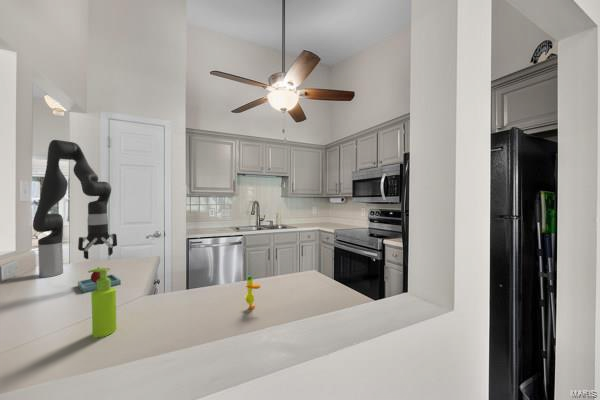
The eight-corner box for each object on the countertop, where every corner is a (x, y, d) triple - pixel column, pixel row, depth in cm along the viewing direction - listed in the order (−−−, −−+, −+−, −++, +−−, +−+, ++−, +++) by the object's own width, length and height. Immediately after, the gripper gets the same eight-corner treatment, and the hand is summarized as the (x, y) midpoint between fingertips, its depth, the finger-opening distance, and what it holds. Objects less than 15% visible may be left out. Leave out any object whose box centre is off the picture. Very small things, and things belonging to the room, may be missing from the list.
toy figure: (262, 306, 93) (261, 275, 93) (258, 310, 90) (258, 278, 89) (245, 304, 95) (245, 274, 94) (241, 309, 91) (241, 277, 91)
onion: (109, 282, 120) (109, 265, 120) (99, 286, 114) (98, 269, 114) (98, 281, 121) (98, 265, 120) (87, 286, 115) (87, 269, 115)
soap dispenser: (98, 328, 79) (96, 266, 79) (120, 326, 80) (119, 265, 79) (83, 338, 73) (81, 272, 73) (108, 337, 74) (106, 271, 73)
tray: (77, 286, 117) (77, 281, 117) (113, 278, 127) (112, 274, 127) (83, 293, 108) (83, 288, 108) (120, 284, 118) (120, 279, 118)
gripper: (114, 221, 125) (114, 253, 125) (76, 224, 114) (77, 258, 114) (118, 222, 120) (118, 255, 120) (79, 225, 109) (80, 261, 109)
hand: (98, 257), depth 117 cm, fingers open, 8 cm apart
